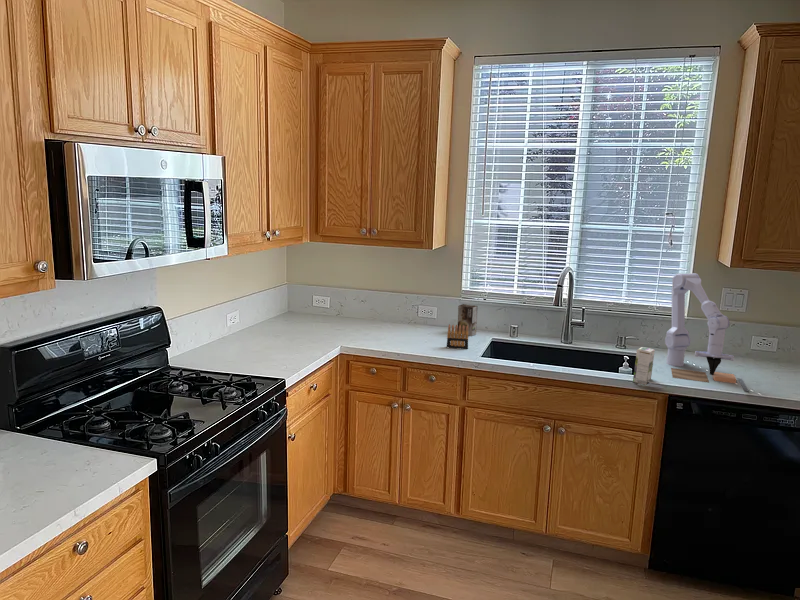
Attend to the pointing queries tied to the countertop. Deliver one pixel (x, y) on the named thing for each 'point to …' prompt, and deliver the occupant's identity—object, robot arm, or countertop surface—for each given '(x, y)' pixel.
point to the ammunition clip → (457, 337)
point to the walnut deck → (689, 375)
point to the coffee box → (467, 318)
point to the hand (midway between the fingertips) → (711, 374)
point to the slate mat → (743, 385)
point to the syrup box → (643, 365)
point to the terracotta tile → (724, 377)
